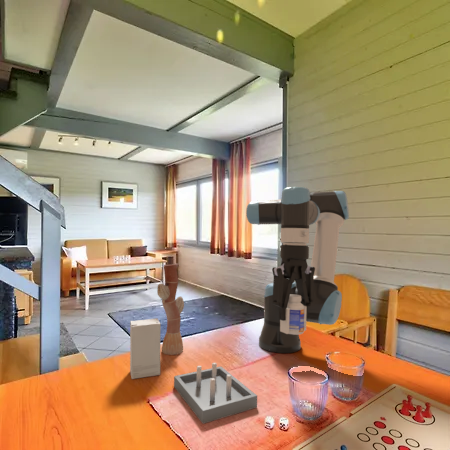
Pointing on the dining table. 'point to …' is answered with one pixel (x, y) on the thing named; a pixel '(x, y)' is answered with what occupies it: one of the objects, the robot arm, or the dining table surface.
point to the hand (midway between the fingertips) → (293, 330)
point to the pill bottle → (296, 315)
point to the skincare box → (145, 348)
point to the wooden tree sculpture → (171, 310)
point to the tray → (214, 393)
